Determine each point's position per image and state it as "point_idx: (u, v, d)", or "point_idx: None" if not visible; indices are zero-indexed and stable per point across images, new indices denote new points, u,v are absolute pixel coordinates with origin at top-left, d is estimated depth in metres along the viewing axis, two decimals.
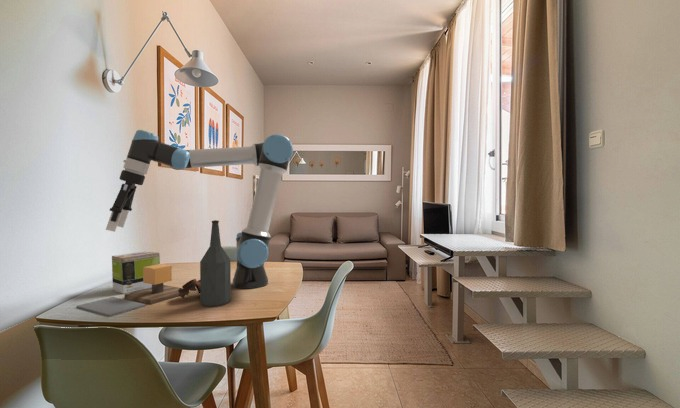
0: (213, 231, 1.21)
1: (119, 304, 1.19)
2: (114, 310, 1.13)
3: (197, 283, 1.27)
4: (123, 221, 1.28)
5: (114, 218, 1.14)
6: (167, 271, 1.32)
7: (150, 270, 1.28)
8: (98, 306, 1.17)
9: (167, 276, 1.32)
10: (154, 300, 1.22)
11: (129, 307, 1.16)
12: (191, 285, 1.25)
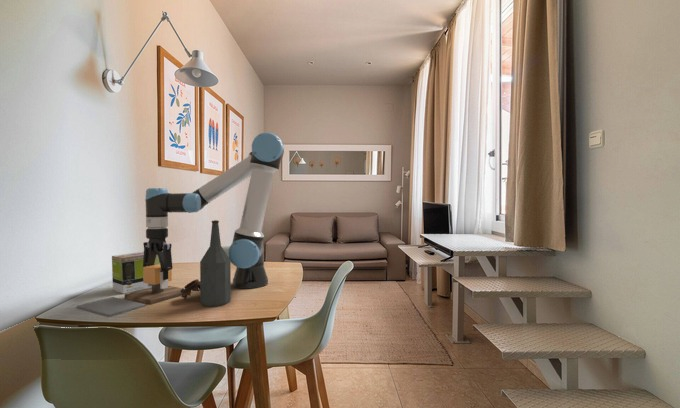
0: (213, 231, 1.21)
1: (119, 304, 1.19)
2: (114, 310, 1.13)
3: None
4: None
5: (167, 276, 1.29)
6: None
7: (150, 270, 1.28)
8: (98, 306, 1.17)
9: None
10: (154, 300, 1.22)
11: (129, 307, 1.16)
12: (194, 285, 1.24)
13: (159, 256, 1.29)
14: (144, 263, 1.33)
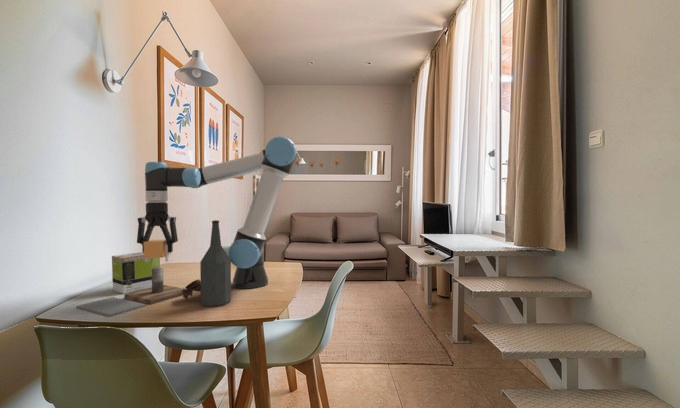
0: (213, 231, 1.21)
1: (119, 304, 1.19)
2: (114, 310, 1.13)
3: None
4: None
5: (172, 249, 1.32)
6: None
7: (155, 244, 1.28)
8: (98, 306, 1.17)
9: None
10: (154, 300, 1.22)
11: (129, 307, 1.16)
12: (195, 286, 1.24)
13: (163, 229, 1.30)
14: (139, 239, 1.30)
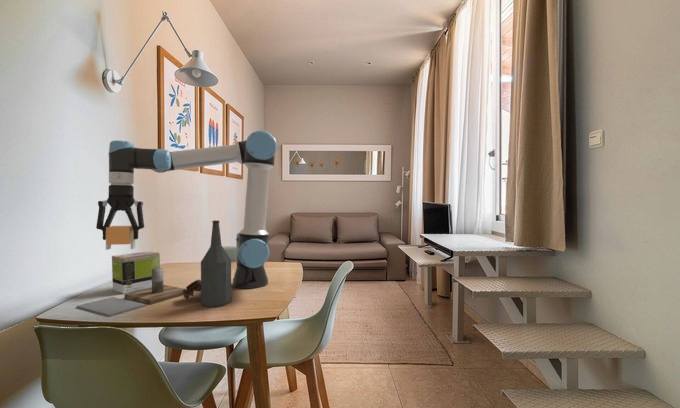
0: (214, 231, 1.21)
1: (119, 304, 1.19)
2: (114, 310, 1.13)
3: None
4: None
5: (137, 236, 1.23)
6: None
7: (120, 229, 1.18)
8: (98, 306, 1.17)
9: None
10: (154, 300, 1.22)
11: (129, 307, 1.16)
12: (196, 286, 1.24)
13: (129, 214, 1.21)
14: (99, 224, 1.18)
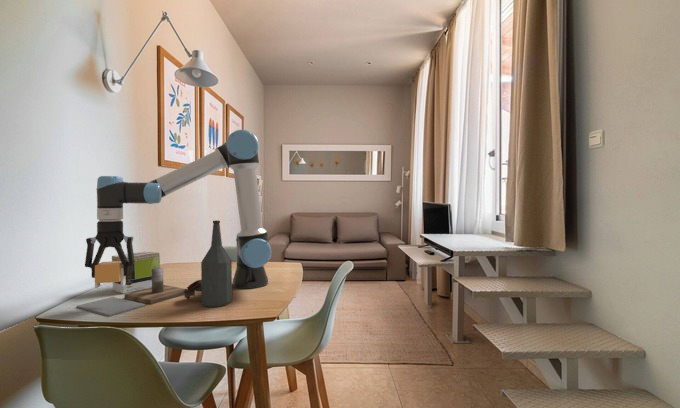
0: (214, 231, 1.21)
1: (119, 304, 1.19)
2: (114, 310, 1.13)
3: None
4: None
5: (128, 272, 1.20)
6: None
7: (110, 267, 1.15)
8: (98, 306, 1.17)
9: None
10: (154, 300, 1.22)
11: (129, 307, 1.16)
12: (197, 286, 1.24)
13: (119, 251, 1.18)
14: (87, 262, 1.15)
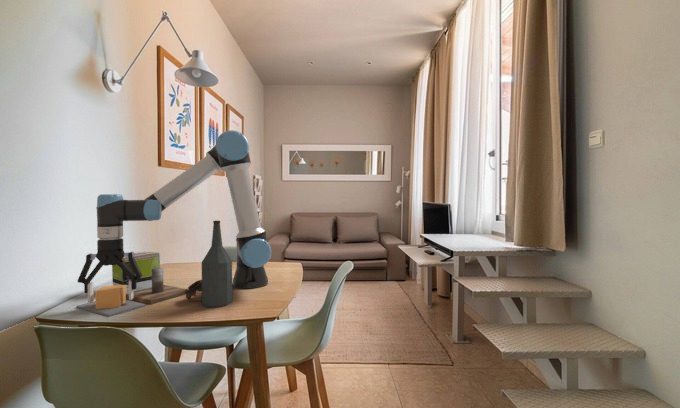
0: (215, 231, 1.20)
1: None
2: (114, 310, 1.13)
3: None
4: (92, 294, 1.17)
5: (135, 285, 1.21)
6: (124, 291, 1.21)
7: (110, 292, 1.15)
8: None
9: (124, 296, 1.21)
10: (154, 300, 1.22)
11: (129, 307, 1.16)
12: (199, 286, 1.24)
13: (123, 267, 1.18)
14: (81, 278, 1.15)
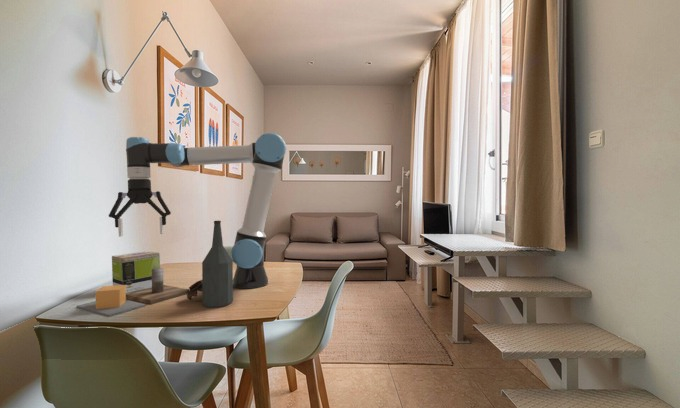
0: (215, 231, 1.20)
1: None
2: (114, 310, 1.13)
3: None
4: (122, 229, 1.27)
5: (165, 222, 1.31)
6: (124, 291, 1.21)
7: (110, 292, 1.15)
8: None
9: (124, 296, 1.21)
10: (154, 300, 1.22)
11: (129, 307, 1.16)
12: (200, 286, 1.24)
13: (152, 204, 1.28)
14: (112, 213, 1.24)
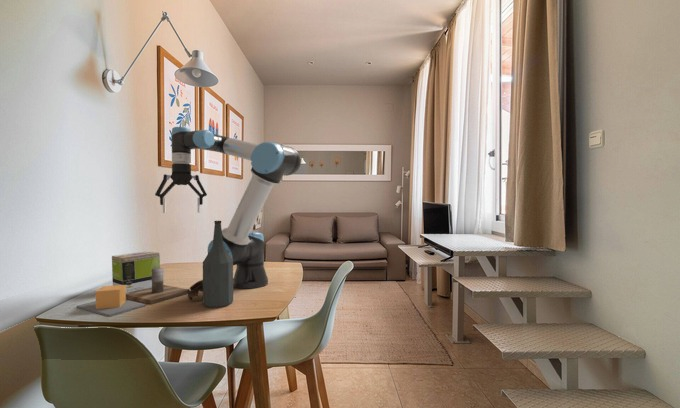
0: (216, 231, 1.20)
1: None
2: (114, 310, 1.13)
3: None
4: (165, 207, 1.46)
5: (202, 202, 1.49)
6: (124, 291, 1.21)
7: (110, 292, 1.15)
8: None
9: (124, 296, 1.21)
10: (154, 300, 1.22)
11: (129, 307, 1.16)
12: (201, 286, 1.23)
13: (192, 186, 1.47)
14: (158, 192, 1.43)
